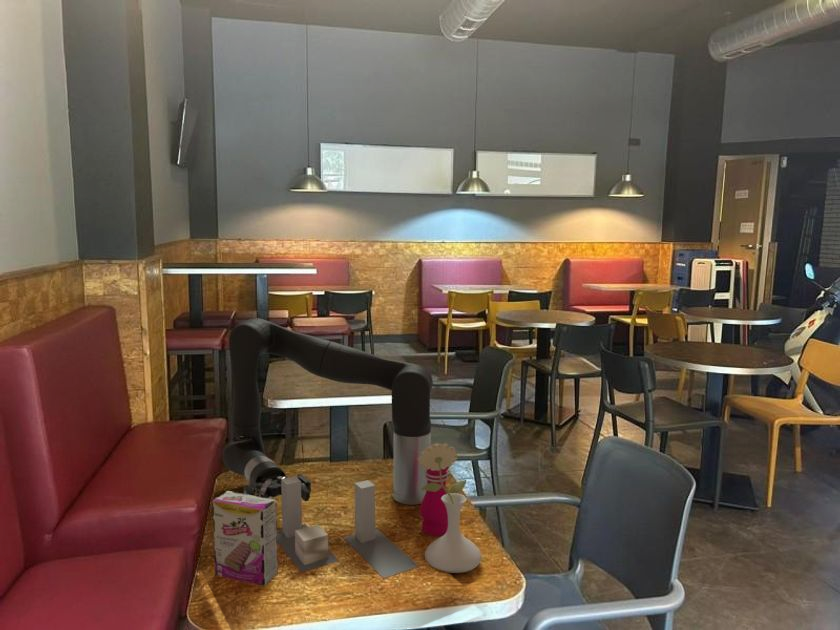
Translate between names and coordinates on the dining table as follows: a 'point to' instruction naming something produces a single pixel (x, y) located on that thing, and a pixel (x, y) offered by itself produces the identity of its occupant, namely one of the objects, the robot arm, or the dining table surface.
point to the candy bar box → (245, 537)
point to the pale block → (311, 544)
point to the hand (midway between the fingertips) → (288, 501)
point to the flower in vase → (449, 517)
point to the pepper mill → (435, 505)
